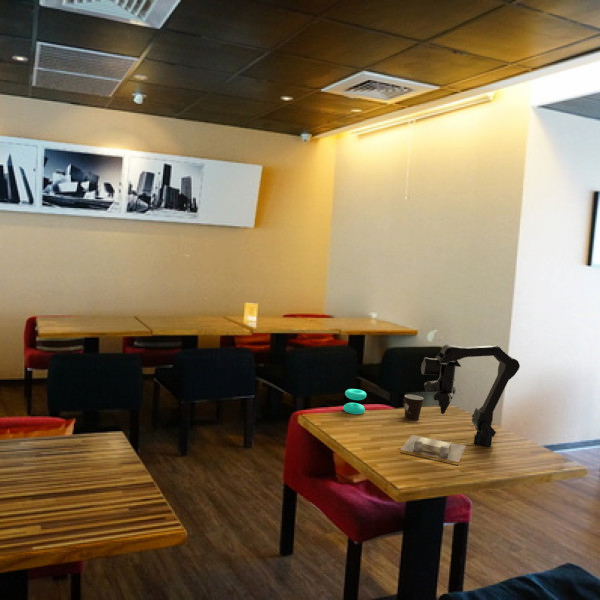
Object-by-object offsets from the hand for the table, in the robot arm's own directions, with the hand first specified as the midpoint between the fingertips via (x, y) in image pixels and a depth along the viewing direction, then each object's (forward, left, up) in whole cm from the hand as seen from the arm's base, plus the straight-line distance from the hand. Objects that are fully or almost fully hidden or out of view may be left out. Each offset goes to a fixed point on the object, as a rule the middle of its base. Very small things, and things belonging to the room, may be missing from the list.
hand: (442, 413), depth 253 cm
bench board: (0, +10, -13) cm, 16 cm away
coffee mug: (+18, -33, -13) cm, 40 cm away
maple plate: (0, +12, -11) cm, 17 cm away
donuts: (+43, -23, -13) cm, 51 cm away
